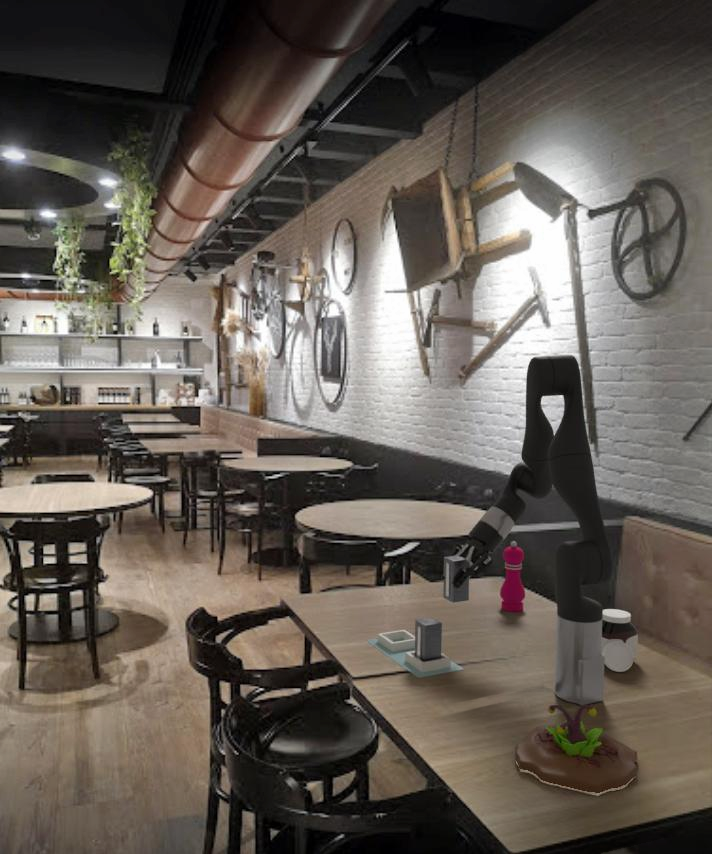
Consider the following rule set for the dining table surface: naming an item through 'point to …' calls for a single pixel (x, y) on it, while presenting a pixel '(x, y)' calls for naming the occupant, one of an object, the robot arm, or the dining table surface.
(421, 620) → the seated billet
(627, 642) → the spread jar
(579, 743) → the plant
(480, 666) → the dining table surface
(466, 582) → the loose billet
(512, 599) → the pepper mill
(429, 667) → the pallet
